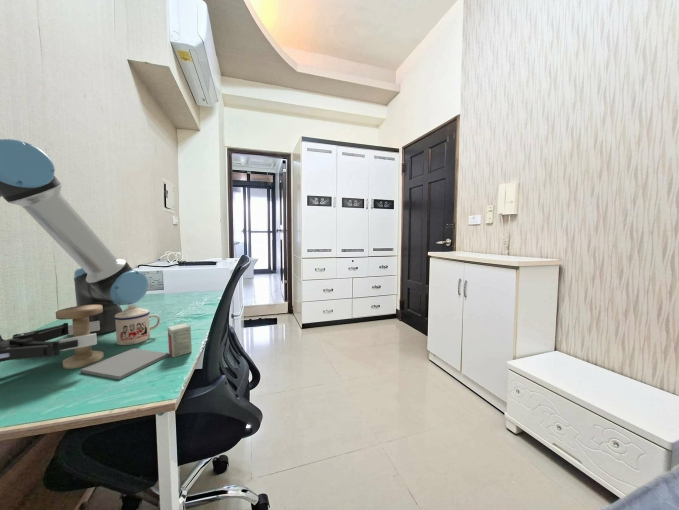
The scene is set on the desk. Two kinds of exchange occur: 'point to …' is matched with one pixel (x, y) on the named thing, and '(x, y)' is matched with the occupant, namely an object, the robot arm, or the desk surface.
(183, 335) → the small box
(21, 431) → the desk surface
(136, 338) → the teacup with lid
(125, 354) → the mat
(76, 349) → the stool
